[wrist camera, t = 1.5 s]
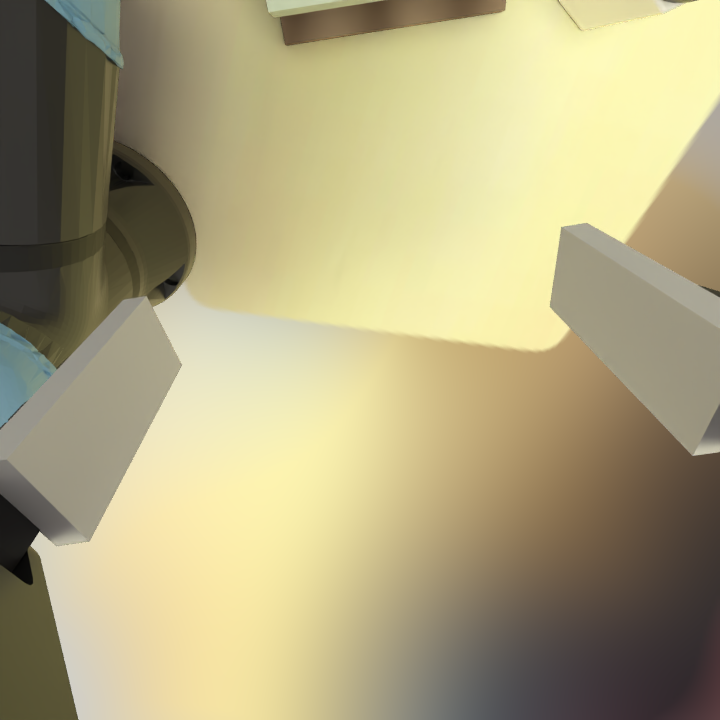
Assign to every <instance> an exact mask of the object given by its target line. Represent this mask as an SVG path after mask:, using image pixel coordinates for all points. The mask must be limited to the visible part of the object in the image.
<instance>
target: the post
mask: <svg viewBox="0 0 720 720" xmlns="http://www.w3.org/2000/svg"><path fill="white" fill-rule="evenodd" d="M505 6H506V0H383V1H377V2H370V3H364V4H358V5H351V6H345V7H339V8H332V9H326V10H320V11H314V12H307V13H301V14H295V15H288V16H282V17H280V19H281V24H282V30H283V35H284V41H285V45H293V44H300V43H306V42H312V41H319V40H325V39H332V38H338V37H344V36H351V35H357V34H364V33H370V32H376V31H383V30H389V29H396V28H402V27H409V26H415V25H421V24H428V23H434V22H441V21H447V20H453V19H460V18H466V17H473V16H479V15H485V14H492V13H498V12H502V11H504V10H505Z"/></svg>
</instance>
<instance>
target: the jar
mask: <svg viewBox="0 0 720 720" xmlns="http://www.w3.org/2000/svg"><path fill="white" fill-rule="evenodd" d="M558 1H559V2H560V3H561V5H562V6H563V7H564V9H565V10H566V11H567V12H568V14H569V15H570V16H571V18H572V19H573V20H574V21H575V23H576V24H577V25H578V27H579V28H580V29H581V30H582V31H585V30H590V29H595V28H599V27H604V26H609V25H613V24H618V23H623V22H628V21H632V20H637V19H642V18H646V17H651V16H656V15H660V14H665V13H667V12H669V11H671V10H673V9H675V8H677V7H679V6H681V5H683V4H685V3H687V2H692V1H697V0H558Z"/></svg>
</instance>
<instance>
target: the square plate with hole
mask: <svg viewBox="0 0 720 720" xmlns="http://www.w3.org/2000/svg"><path fill="white" fill-rule="evenodd" d="M377 1H383V0H266V3H267V8H268V12H269V13H270V14H271V15H272V16H273V18H276V17H282V16H288V15H295V14H301V13H307V12H314V11H320V10H326V9H332V8H339V7H345V6H351V5H358V4H364V3H370V2H377Z"/></svg>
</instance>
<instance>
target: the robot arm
mask: <svg viewBox="0 0 720 720" xmlns="http://www.w3.org/2000/svg"><path fill="white" fill-rule="evenodd" d="M120 1H121V0H0V720H78V716H77V712H76V708H75V704H74V699H73V695H72V691H71V687H70V682H69V678H68V674H67V670H66V665H65V661H64V657H63V653H62V649H61V644H60V640H59V636H58V631H57V627H56V623H55V619H54V614H53V610H52V606H51V602H50V597H49V594H48V589H47V585H46V580H45V576H44V572H43V568H42V564H41V559H40V556H39V555H38V553H37V552H36V551H35V550H34V549H33V548H32V547H31V546H30V545H31V543H32V542H33V540H34V539H35V537H36V536H37V534H38V533H39V531H40V532H41V533H42V534H43V535H44V536H46V537H47V538H48V539H49V540H50V541H51V542H52V543H53V544H54V545H56V546H62V545H69V544H76V543H82V542H89V541H90V539H91V538H92V536H93V534H94V532H95V530H96V528H97V526H98V524H99V522H100V520H101V518H102V517H103V515H104V513H105V511H106V509H107V507H108V505H109V503H110V501H111V499H112V498H113V496H114V494H115V492H116V490H117V488H118V486H119V484H120V482H121V480H122V478H123V476H124V475H125V473H126V471H127V469H128V467H129V465H130V463H131V461H132V459H133V457H134V455H135V454H136V452H137V450H138V448H139V446H140V444H141V442H142V440H143V438H144V436H145V435H146V433H147V431H148V429H149V427H150V425H151V423H152V421H153V419H154V417H155V415H156V413H157V412H158V410H159V408H160V406H161V404H162V402H163V400H164V398H165V397H166V395H167V393H168V391H169V389H170V387H171V385H172V383H173V381H174V379H175V377H176V376H177V374H178V372H179V370H180V368H181V366H182V364H181V362H180V360H179V358H178V356H177V354H176V353H175V351H174V349H173V347H172V345H171V343H170V341H169V339H168V337H167V335H166V333H165V331H164V329H163V327H162V325H161V323H160V321H159V319H158V317H157V315H156V313H155V312H154V310H153V308H152V307H153V306H156V305H158V304H160V303H162V302H163V301H165V300H166V299H168V298H169V297H170V296H172V295H173V294H174V293H175V292H176V291H177V289H178V288H179V287H180V286H181V285H182V283H183V282H184V281H185V279H186V278H187V276H188V275H189V273H190V271H191V269H192V266H193V263H194V259H195V254H196V236H195V230H194V226H193V222H192V219H191V216H190V213H189V211H188V209H187V207H186V204H185V203H184V201H183V199H182V197H181V196H180V194H179V193H178V191H177V190H176V188H175V187H174V185H173V184H172V183H171V182H170V181H169V179H168V178H167V177H166V176H165V175H164V174H163V173H162V172H161V171H160V170H159V169H158V168H157V167H156V166H155V165H153V164H152V163H151V162H150V161H148V160H147V159H146V158H144V157H143V156H142V155H140V154H139V153H137V152H135V151H134V150H132V149H130V148H128V147H126V146H124V145H122V144H120V143H118V142H115V141H113V138H114V126H115V115H116V103H117V92H118V80H119V68H120V69H123V67H124V60H123V56H122V54H121V52H120ZM550 308H551V309H552V310H553V311H554V312H555V313H556V314H557V315H558V316H559V317H560V318H561V319H562V320H563V321H564V322H565V323H566V324H567V325H568V326H569V327H570V328H571V329H572V331H573V332H574V333H575V334H576V335H577V336H578V337H580V339H581V340H582V341H583V342H584V343H585V344H586V345H587V346H588V347H589V348H590V349H591V350H592V351H593V352H594V353H595V354H596V355H597V357H598V358H600V360H601V361H602V362H603V363H604V364H605V365H606V366H607V367H608V368H609V369H610V370H611V371H612V372H613V373H614V374H615V375H616V376H617V377H618V378H619V379H620V380H621V381H622V383H623V384H624V385H625V386H626V387H627V388H628V389H629V390H630V391H631V392H632V393H633V394H634V395H635V396H636V397H637V398H638V399H639V400H640V401H641V402H642V403H643V404H644V405H645V406H646V407H647V409H648V410H649V411H650V412H651V413H652V414H653V415H654V416H655V417H656V418H657V419H658V420H659V421H660V422H661V423H662V424H663V425H664V426H665V427H666V428H667V429H668V430H669V432H671V434H672V435H673V436H674V437H675V438H676V439H677V440H678V441H679V442H680V443H681V444H682V445H683V446H684V447H685V448H686V449H687V450H688V451H689V452H690V453H691V454H692V455H693V456H695V455H702V454H709V453H716V452H720V292H719V291H716V290H712V289H709V288H706V287H703V286H699V285H696V284H695V283H693V282H691V281H689V280H688V279H686V278H684V277H682V276H680V275H679V274H677V273H675V272H673V271H672V270H670V269H668V268H666V267H664V266H663V265H661V264H659V263H657V262H655V261H654V260H652V259H650V258H648V257H647V256H645V255H643V254H641V253H639V252H638V251H636V250H634V249H632V248H631V247H629V246H627V245H625V244H623V243H622V242H620V241H618V240H616V239H615V238H613V237H611V236H609V235H607V234H606V233H604V232H602V231H600V230H599V229H597V228H595V227H593V226H591V225H590V224H588V223H584V224H578V225H571V226H565V227H561V234H560V241H559V247H558V254H557V261H556V268H555V275H554V281H553V288H552V295H551V302H550Z"/></svg>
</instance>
